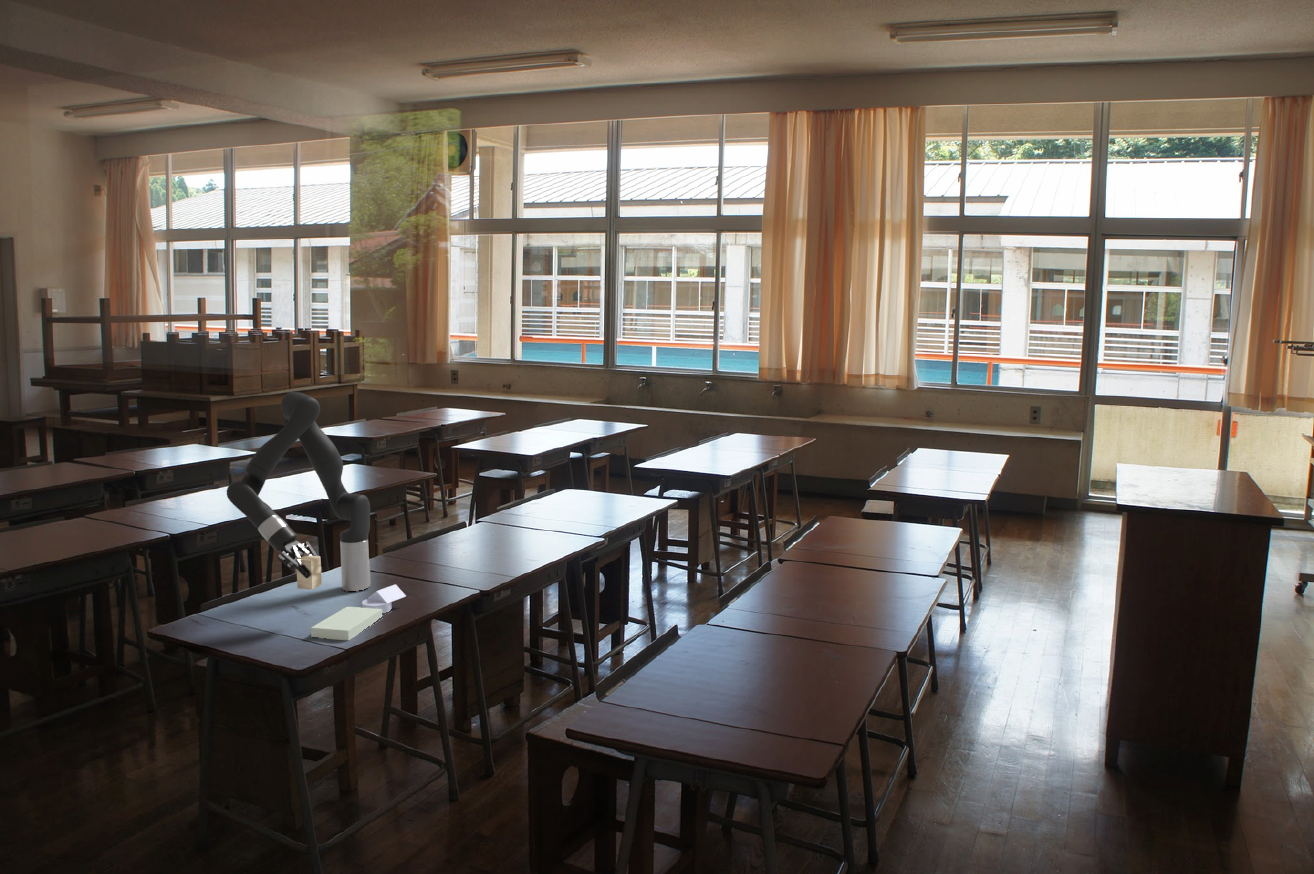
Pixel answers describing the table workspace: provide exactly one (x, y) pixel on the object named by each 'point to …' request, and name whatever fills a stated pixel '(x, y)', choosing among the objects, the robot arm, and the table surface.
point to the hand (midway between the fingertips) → (314, 573)
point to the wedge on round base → (383, 598)
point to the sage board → (346, 623)
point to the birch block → (315, 568)
